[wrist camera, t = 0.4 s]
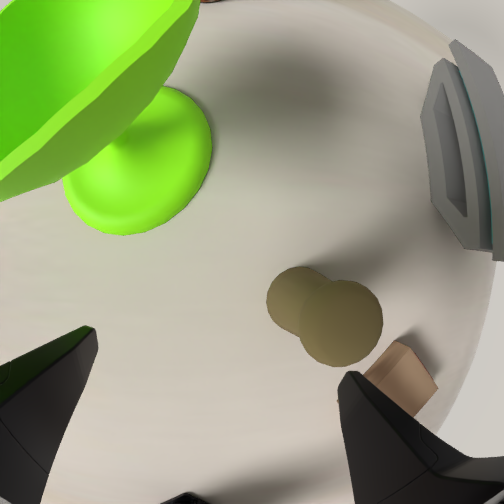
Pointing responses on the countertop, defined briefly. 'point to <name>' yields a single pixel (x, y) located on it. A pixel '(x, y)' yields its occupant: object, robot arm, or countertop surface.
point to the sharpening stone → (467, 149)
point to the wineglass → (101, 108)
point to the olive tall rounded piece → (326, 315)
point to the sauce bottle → (208, 0)
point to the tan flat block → (402, 378)
